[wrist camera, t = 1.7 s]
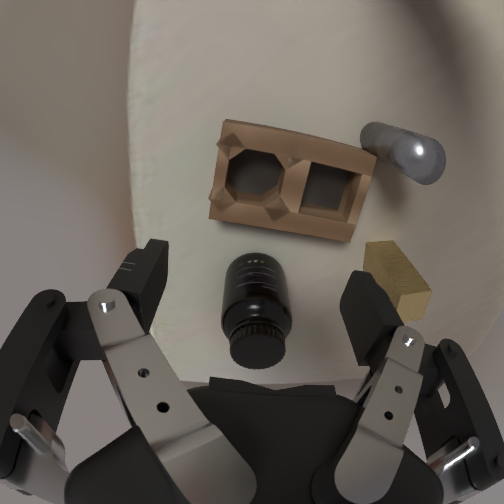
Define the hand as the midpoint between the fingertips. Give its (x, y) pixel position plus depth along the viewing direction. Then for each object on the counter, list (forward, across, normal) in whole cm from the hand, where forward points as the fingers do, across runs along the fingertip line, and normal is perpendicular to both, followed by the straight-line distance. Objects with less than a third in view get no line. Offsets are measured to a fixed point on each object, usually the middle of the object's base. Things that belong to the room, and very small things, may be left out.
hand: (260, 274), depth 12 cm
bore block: (+18, -4, 0) cm, 18 cm away
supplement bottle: (+18, -2, +12) cm, 22 cm away
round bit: (+18, -12, -6) cm, 22 cm away
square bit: (+18, -16, +7) cm, 25 cm away
